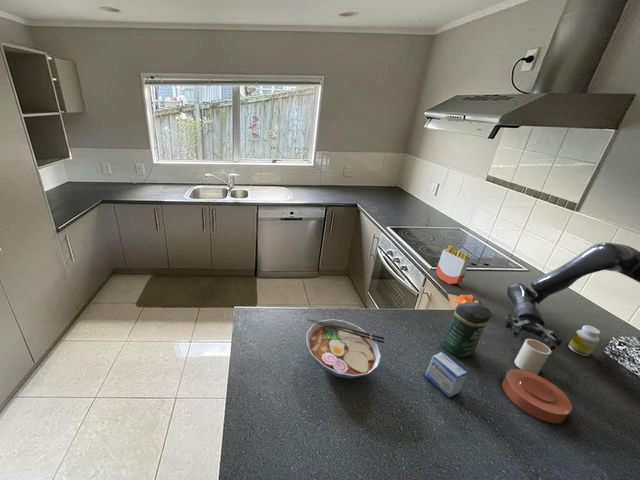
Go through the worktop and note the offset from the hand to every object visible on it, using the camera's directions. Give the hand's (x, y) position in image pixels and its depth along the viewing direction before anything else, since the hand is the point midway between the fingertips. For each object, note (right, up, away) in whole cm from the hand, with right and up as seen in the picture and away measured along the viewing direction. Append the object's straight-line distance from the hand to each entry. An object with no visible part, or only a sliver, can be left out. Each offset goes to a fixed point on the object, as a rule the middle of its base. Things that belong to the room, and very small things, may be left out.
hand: (534, 341), depth 93 cm
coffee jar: (-22, -5, +6) cm, 23 cm away
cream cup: (-3, -8, 0) cm, 9 cm away
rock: (-1, +4, +29) cm, 29 cm away
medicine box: (-36, -10, -7) cm, 38 cm away
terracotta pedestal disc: (-11, -12, -11) cm, 20 cm away
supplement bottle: (+23, -6, +8) cm, 25 cm away
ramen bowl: (-66, -6, -1) cm, 66 cm away
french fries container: (+3, +11, +47) cm, 48 cm away
